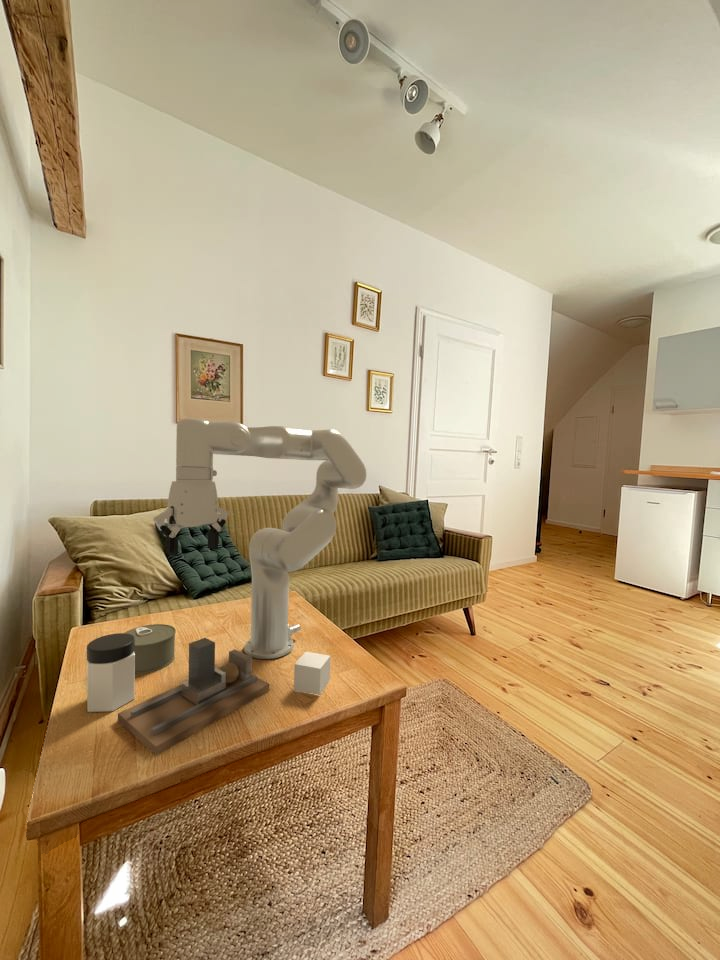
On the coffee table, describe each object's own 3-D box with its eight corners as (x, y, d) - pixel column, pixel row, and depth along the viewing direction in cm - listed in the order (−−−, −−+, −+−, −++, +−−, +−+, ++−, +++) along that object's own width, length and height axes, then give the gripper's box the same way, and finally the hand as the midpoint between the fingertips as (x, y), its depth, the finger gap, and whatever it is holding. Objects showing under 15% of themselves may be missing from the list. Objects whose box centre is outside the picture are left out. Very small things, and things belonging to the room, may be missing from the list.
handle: (208, 682, 83) (209, 633, 83) (225, 692, 79) (226, 641, 79) (181, 694, 78) (182, 643, 78) (198, 706, 75) (199, 652, 74)
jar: (143, 688, 83) (144, 632, 83) (124, 711, 75) (124, 650, 75) (98, 689, 82) (99, 633, 82) (74, 713, 74) (74, 651, 74)
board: (229, 669, 92) (229, 641, 92) (269, 690, 84) (269, 660, 83) (117, 721, 72) (118, 686, 72) (155, 755, 64) (156, 716, 64)
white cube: (319, 696, 82) (320, 668, 82) (293, 691, 84) (294, 664, 83) (329, 681, 88) (330, 655, 88) (305, 677, 89) (305, 651, 89)
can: (129, 681, 86) (130, 650, 86) (110, 662, 94) (111, 634, 93) (184, 661, 95) (184, 633, 95) (162, 646, 103) (163, 620, 103)
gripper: (218, 474, 96) (217, 543, 97) (146, 474, 82) (145, 555, 83) (237, 475, 92) (236, 548, 92) (164, 475, 78) (163, 561, 78)
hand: (193, 551), depth 88 cm, fingers open, 9 cm apart
